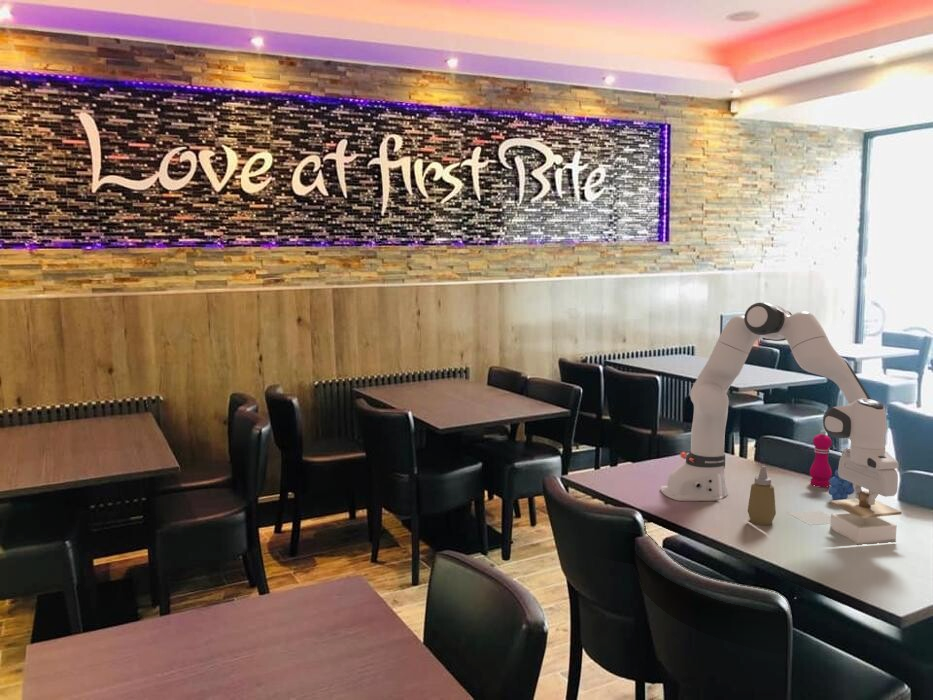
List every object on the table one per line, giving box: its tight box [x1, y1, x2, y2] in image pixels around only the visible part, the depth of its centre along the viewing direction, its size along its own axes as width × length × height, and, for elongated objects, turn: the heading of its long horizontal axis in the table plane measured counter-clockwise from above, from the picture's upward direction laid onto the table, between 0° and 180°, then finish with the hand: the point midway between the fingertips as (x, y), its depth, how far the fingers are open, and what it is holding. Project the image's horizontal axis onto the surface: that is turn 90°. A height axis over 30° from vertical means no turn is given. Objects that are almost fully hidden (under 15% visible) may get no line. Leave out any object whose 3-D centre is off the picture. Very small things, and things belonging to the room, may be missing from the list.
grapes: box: [827, 469, 855, 501], centre depth 243 cm, size 12×7×12 cm, turn 110°
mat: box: [788, 510, 831, 526], centre depth 226 cm, size 11×11×1 cm
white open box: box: [829, 512, 897, 546], centre depth 212 cm, size 12×12×5 cm
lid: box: [829, 490, 902, 518], centre depth 211 cm, size 13×13×5 cm
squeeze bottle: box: [747, 465, 777, 526], centre depth 222 cm, size 8×8×18 cm
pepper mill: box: [809, 430, 833, 488], centre depth 259 cm, size 7×7×20 cm
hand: (864, 501), depth 211 cm, fingers closed on lid, 3 cm apart
